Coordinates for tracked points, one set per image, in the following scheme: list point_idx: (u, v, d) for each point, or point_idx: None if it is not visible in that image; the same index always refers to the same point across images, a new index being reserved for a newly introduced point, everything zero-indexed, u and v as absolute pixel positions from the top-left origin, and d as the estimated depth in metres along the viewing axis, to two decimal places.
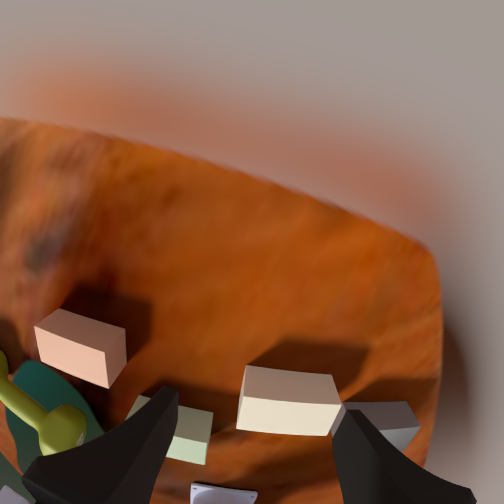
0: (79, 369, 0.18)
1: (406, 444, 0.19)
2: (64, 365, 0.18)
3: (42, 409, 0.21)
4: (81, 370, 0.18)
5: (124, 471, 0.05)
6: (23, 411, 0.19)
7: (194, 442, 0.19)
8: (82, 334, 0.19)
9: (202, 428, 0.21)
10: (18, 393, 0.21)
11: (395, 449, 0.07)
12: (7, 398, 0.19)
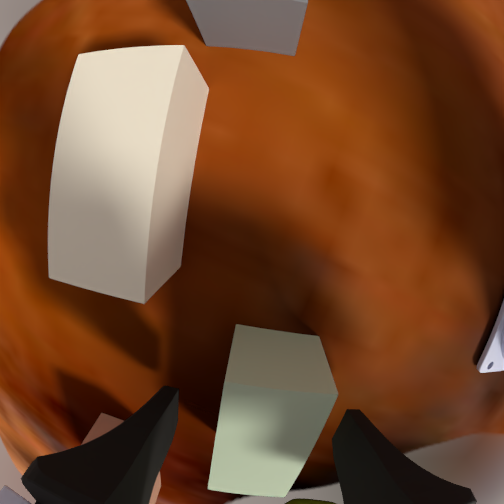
0: None
1: None
2: None
3: None
4: None
5: (124, 471, 0.05)
6: None
7: (227, 405, 0.08)
8: None
9: None
10: None
11: (395, 449, 0.07)
12: None
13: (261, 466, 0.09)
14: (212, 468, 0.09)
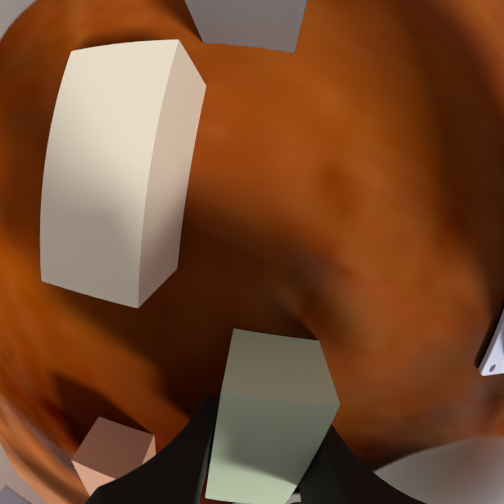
0: None
1: None
2: None
3: None
4: None
5: (193, 490, 0.05)
6: None
7: (224, 416, 0.08)
8: None
9: None
10: None
11: (351, 453, 0.07)
12: None
13: (260, 476, 0.08)
14: (209, 478, 0.09)
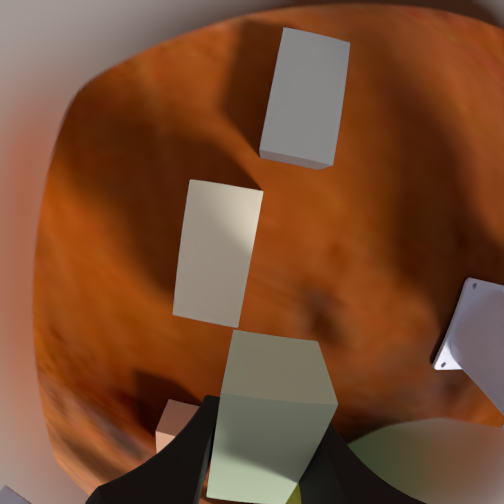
0: None
1: (329, 41, 0.11)
2: None
3: None
4: None
5: (193, 490, 0.05)
6: None
7: (224, 416, 0.08)
8: None
9: None
10: None
11: (351, 453, 0.07)
12: None
13: (260, 475, 0.08)
14: (210, 477, 0.09)
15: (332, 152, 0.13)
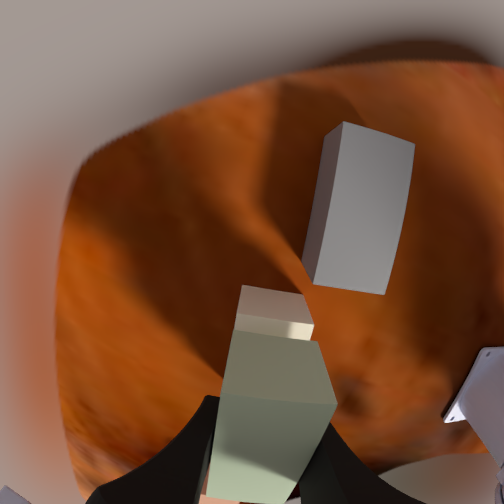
0: None
1: (394, 143, 0.11)
2: None
3: None
4: None
5: (193, 490, 0.05)
6: None
7: (224, 416, 0.08)
8: None
9: None
10: None
11: (351, 453, 0.07)
12: None
13: (259, 474, 0.09)
14: (210, 476, 0.09)
15: (386, 281, 0.12)
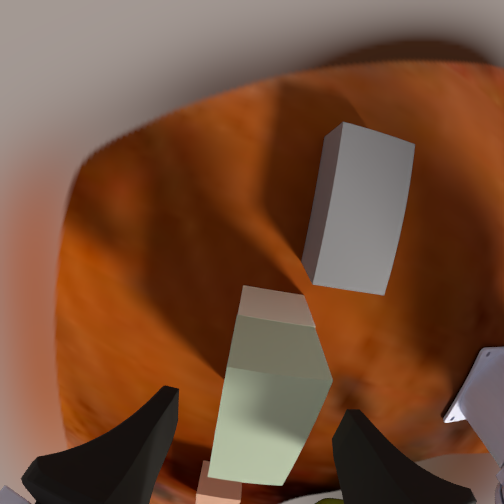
0: None
1: (394, 143, 0.11)
2: None
3: None
4: None
5: (124, 471, 0.05)
6: None
7: (229, 390, 0.09)
8: None
9: None
10: None
11: (395, 449, 0.07)
12: None
13: (260, 452, 0.10)
14: (213, 455, 0.10)
15: (385, 282, 0.12)
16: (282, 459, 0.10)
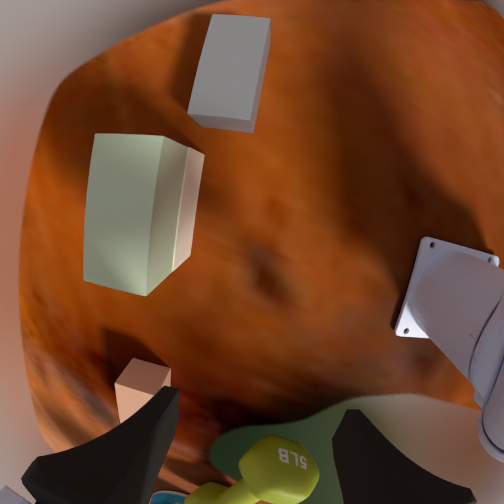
0: None
1: (251, 19, 0.13)
2: None
3: None
4: None
5: (124, 471, 0.05)
6: (242, 495, 0.20)
7: (95, 155, 0.11)
8: None
9: None
10: (229, 488, 0.22)
11: (395, 449, 0.07)
12: (230, 502, 0.21)
13: (117, 231, 0.12)
14: (85, 240, 0.12)
15: (250, 109, 0.14)
16: (137, 243, 0.12)
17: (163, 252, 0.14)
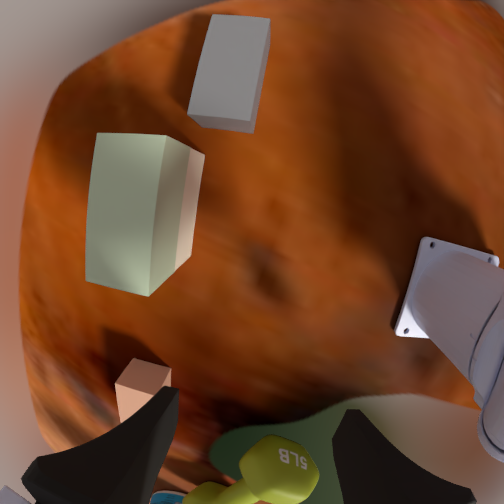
0: None
1: (251, 20, 0.13)
2: None
3: None
4: None
5: (124, 471, 0.05)
6: (241, 495, 0.20)
7: (97, 154, 0.11)
8: None
9: None
10: (229, 488, 0.22)
11: (395, 449, 0.07)
12: (229, 502, 0.21)
13: (120, 231, 0.12)
14: (87, 240, 0.12)
15: (249, 109, 0.14)
16: (139, 243, 0.12)
17: (165, 252, 0.14)
